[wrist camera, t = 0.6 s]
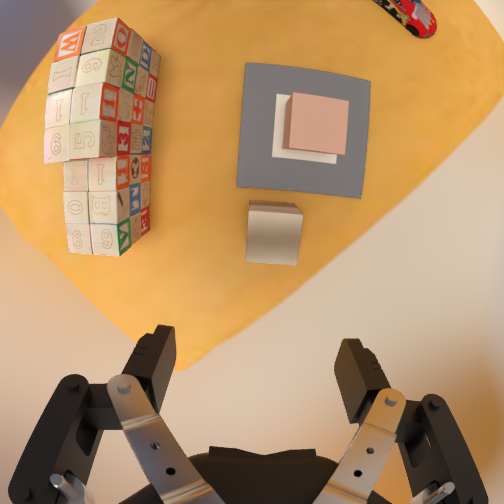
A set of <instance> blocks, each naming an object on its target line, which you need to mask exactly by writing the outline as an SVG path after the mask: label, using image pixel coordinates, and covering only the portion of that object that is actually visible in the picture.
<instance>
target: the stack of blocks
mask: <svg viewBox="0 0 504 504" xmlns="http://www.w3.org/2000/svg"><path fill="white" fill-rule="evenodd" d="M160 59H161V56H160V55H159V54H158V53H157V52H156V51H155V50H154V49H152V48H151V47H150V46H149V45H148V44H147V43H146V42H145V41H144V40H143V39H142V37H140V35H138V34H137V33H136V32H135V31H134V30H133V29H132V28H129V27H128V26H127V25H126V24H125V23H124V22H123V21H122V20H120V19H119V18H117V17H116V18H111V19H107V20H103V21H99V22H95V23H91V24H88V26H81V27H78V28H75V29H72V30H69V31H66V32H64V33H61V34H60V35H59V39H58V43H57V48H56V52H55V57H54V61H53V62H54V63H53V64H52V65H51V71H50V77H49V84H48V97H47V101H46V111H45V134H44V164H49V163H58V162H63V179H64V193H63V197H64V213H65V222H66V229H67V239H68V247H69V252H70V253H80V254H90V255H92V254H96V255H106V256H118V257H119V256H121V255H122V254H123V253H124V252H126V251H127V250H128V249H129V248H130V247H131V245H132V244H134V243H135V242H136V241H137V240H139V239H140V238H141V237H142V236H143V235H144V234H146V233H147V232H148V231H149V229H150V228H149V205H150V168H151V154H150V153H151V137H152V121H153V109H154V103H155V96H156V87H157V78H158V73H159V66H160Z"/></svg>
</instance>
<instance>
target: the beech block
mask: <svg viewBox="0 0 504 504" xmlns="http://www.w3.org/2000/svg"><path fill="white" fill-rule="evenodd" d="M302 222H303V214H302V213H301V211H300V210H299V209H298V207H297V206H296V205H295V204H293V203H281V202H269V201H255V200H250V204H249V217H248V231H247V246H246V261H245V262H252V263H267V264H283V265H297V261H298V254H299V246H300V238H301V230H302Z"/></svg>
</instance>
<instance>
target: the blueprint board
mask: <svg viewBox="0 0 504 504" xmlns="http://www.w3.org/2000/svg"><path fill="white" fill-rule="evenodd" d="M370 86H371V81H368V80H364V79H359V78H355V77H351V76H346V75H341V74H336V73H331V72H325V71H319V70H313V69H306V68H299V67H291V66H283V65H272V64H260V63H246V66H245V78H244V90H243V103H242V116H241V129H240V144H239V158H238V173H237V187H248V188H262V189H274V190H286V191H297V192H307V193H317V194H326V195H334V196H343V197H351V198H358V199H361V195H362V188H363V180H364V171H365V162H366V152H367V140H368V127H369V111H370ZM293 92H295V93H303V94H310V95H317V96H323V97H329V98H335V99H340V100H345V101H349V108H348V123H347V137H346V148H345V155H339V154H325V153H317V152H309V151H301V150H292V149H282V144H283V132H284V118H285V105H286V102H287V101H288V99H289V98H290V96H291V95H292V93H293Z"/></svg>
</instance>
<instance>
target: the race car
mask: <svg viewBox="0 0 504 504" xmlns="http://www.w3.org/2000/svg"><path fill="white" fill-rule="evenodd" d="M374 1H375V2H376V3H378V4H379V5H380V6H382V7H383V8H384V9H385V10H386V11H388V12H389V13H390V14H391V15H392V16H394V17H395V18H396V19H397V20H398V21H399V22H400V23H402V24H403V25H404V26H405V25H406V24H407V26H406V29H407V30H409V31H410V32H411V33H412V35H415V36H417V35H418V34H419V35H418V37H420V38H427V37H431V36H433V35H434V34H435V32H436V29H437V23H436V19H435V17H434V15H433V14H432V12H431V11H430V10H429V9H428V8H427V7H426V6H425V5H424V4H423V3H422V2H421V0H374Z"/></svg>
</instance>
